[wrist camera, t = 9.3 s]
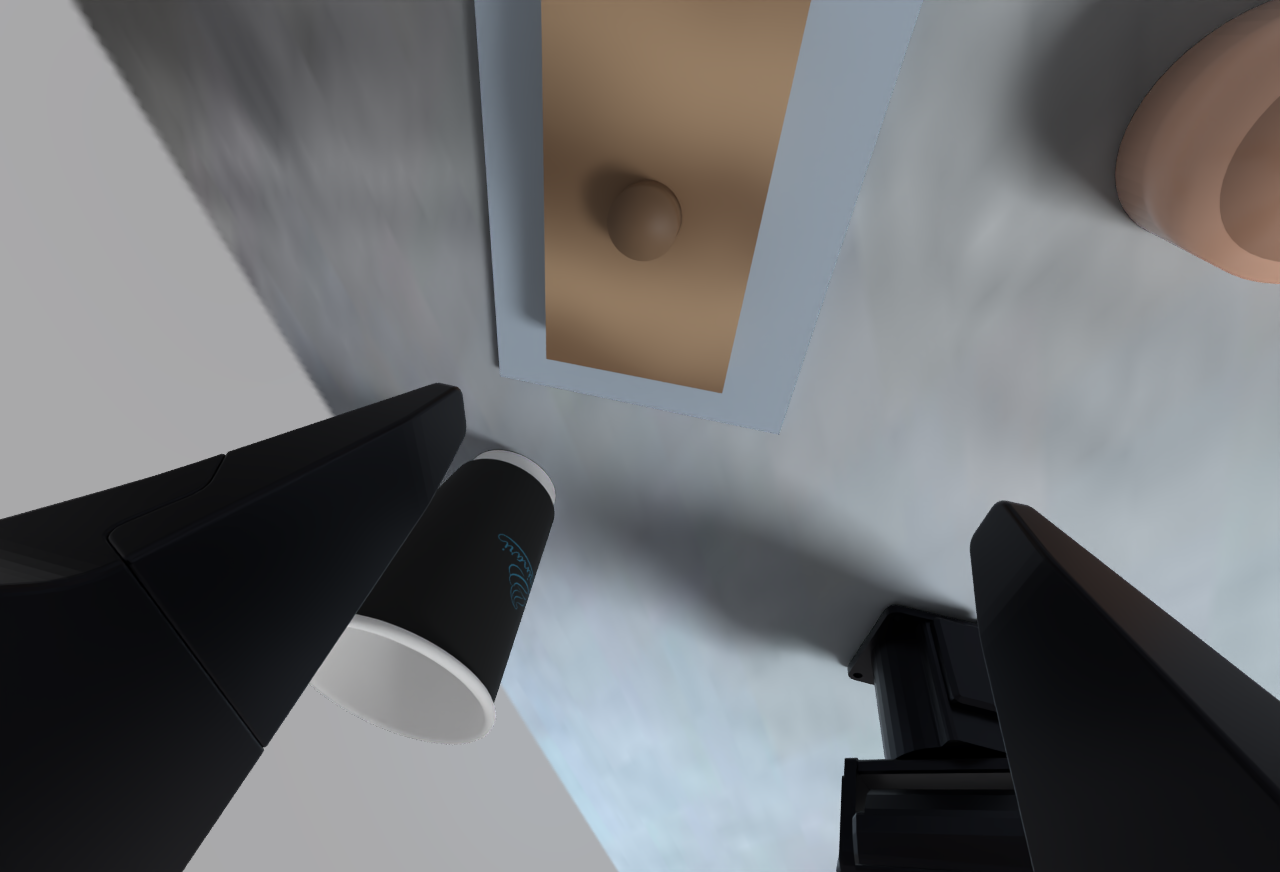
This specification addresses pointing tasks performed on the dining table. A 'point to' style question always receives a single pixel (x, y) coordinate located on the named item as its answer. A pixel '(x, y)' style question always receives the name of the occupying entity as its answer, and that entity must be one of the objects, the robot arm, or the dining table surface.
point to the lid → (658, 175)
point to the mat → (791, 222)
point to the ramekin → (1213, 150)
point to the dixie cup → (447, 607)
